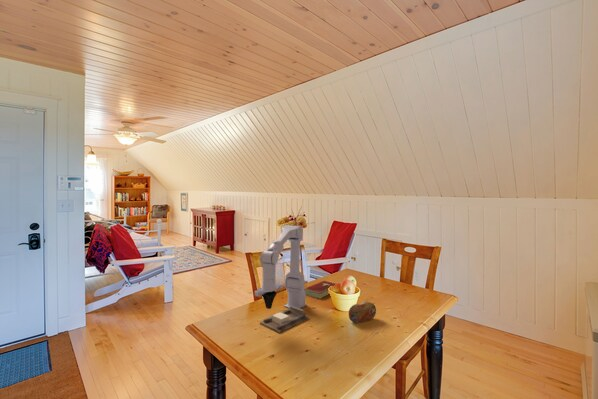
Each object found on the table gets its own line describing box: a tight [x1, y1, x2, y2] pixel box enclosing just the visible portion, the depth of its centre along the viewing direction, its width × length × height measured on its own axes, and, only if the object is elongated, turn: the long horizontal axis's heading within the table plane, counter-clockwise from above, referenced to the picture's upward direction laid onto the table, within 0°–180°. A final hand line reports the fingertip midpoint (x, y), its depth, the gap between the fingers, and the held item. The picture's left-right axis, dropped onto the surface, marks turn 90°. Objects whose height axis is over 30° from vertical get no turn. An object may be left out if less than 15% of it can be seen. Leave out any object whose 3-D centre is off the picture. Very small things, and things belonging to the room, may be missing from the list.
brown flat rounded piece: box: [348, 301, 377, 325], centre depth 140 cm, size 15×3×8 cm, turn 117°
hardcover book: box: [304, 280, 337, 299], centre depth 179 cm, size 12×21×4 cm, turn 140°
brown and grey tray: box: [259, 306, 310, 334], centre depth 138 cm, size 20×13×4 cm, turn 138°
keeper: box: [271, 311, 289, 325], centre depth 136 cm, size 5×6×3 cm
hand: (268, 308), depth 130 cm, fingers closed
